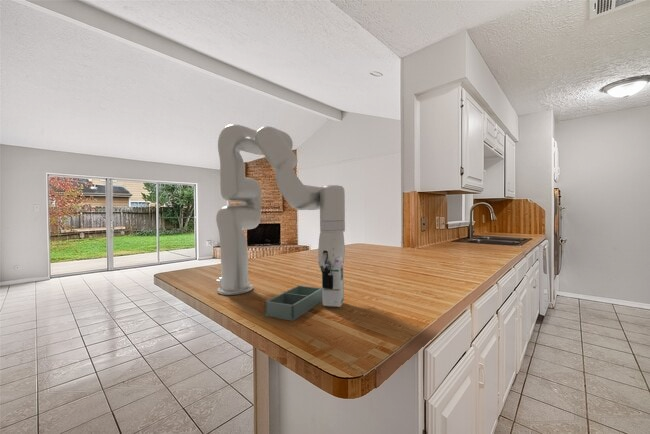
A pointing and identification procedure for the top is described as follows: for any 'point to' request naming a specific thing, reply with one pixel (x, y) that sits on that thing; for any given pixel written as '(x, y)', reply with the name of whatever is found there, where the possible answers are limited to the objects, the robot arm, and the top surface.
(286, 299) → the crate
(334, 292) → the syrup box
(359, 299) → the top surface
